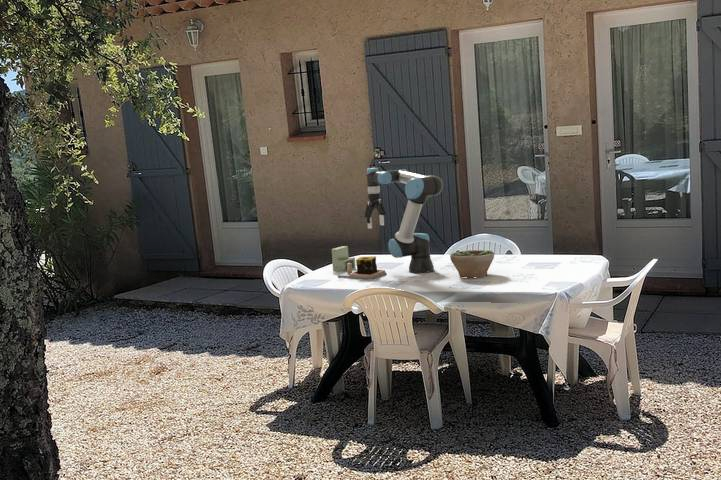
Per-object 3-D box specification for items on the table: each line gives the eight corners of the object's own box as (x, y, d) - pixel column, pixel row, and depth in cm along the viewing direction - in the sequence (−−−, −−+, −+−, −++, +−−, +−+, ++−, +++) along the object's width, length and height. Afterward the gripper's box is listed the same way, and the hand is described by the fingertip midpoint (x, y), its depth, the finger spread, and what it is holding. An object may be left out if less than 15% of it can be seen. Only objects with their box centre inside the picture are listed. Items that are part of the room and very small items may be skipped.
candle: (377, 272, 474) (376, 256, 473) (373, 275, 464) (372, 259, 463) (361, 272, 477) (360, 256, 475) (356, 276, 467) (355, 259, 466)
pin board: (386, 274, 472) (385, 262, 471) (371, 279, 459) (370, 267, 458) (353, 272, 487) (352, 260, 486) (337, 277, 474) (336, 265, 473)
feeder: (356, 268, 500) (354, 246, 498) (344, 271, 490) (343, 249, 488) (344, 267, 505) (342, 246, 503) (333, 271, 496) (331, 249, 494)
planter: (446, 280, 444) (445, 254, 442) (456, 271, 467) (455, 246, 465) (491, 280, 435) (490, 253, 433) (499, 271, 458) (498, 246, 456)
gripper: (379, 190, 498) (382, 223, 501) (357, 195, 478) (359, 229, 481) (389, 190, 493) (391, 224, 496) (367, 195, 473) (369, 229, 476)
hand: (376, 226), depth 488 cm, fingers open, 13 cm apart
